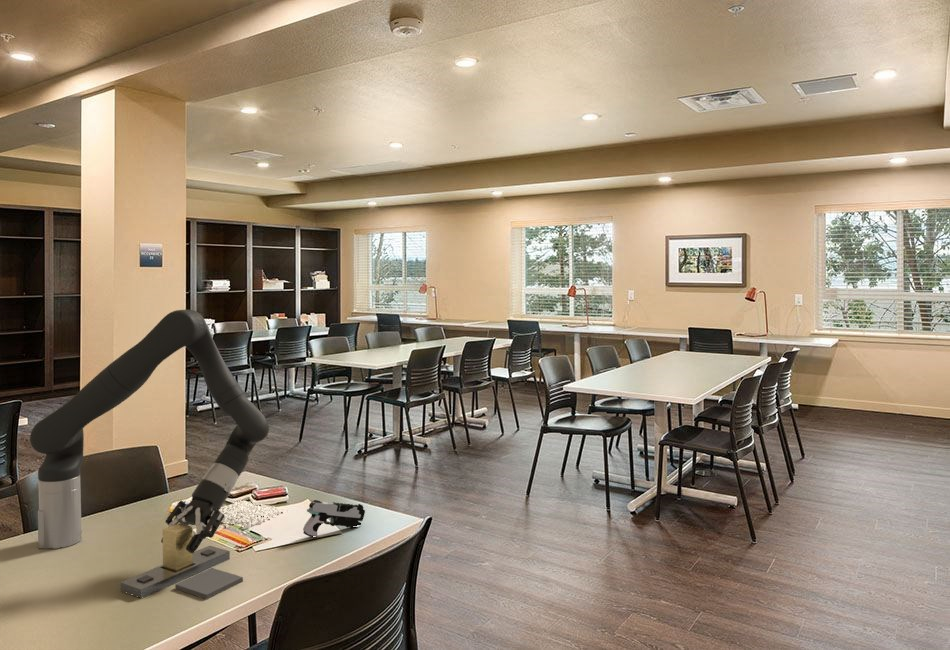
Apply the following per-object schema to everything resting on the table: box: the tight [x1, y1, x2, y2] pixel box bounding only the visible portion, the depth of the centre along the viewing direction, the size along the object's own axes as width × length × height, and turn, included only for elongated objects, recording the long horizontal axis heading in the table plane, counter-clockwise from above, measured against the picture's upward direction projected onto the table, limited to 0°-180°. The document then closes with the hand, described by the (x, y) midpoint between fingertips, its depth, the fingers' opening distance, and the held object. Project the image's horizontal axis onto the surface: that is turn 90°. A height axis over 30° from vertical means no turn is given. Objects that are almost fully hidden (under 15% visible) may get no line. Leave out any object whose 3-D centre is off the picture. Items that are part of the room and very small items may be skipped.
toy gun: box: [302, 499, 366, 538], centre depth 185 cm, size 2×17×10 cm, turn 128°
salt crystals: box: [219, 500, 283, 530], centre depth 197 cm, size 20×20×2 cm
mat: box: [174, 567, 244, 600], centre depth 152 cm, size 10×10×1 cm
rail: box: [119, 545, 231, 599], centre depth 158 cm, size 24×7×2 cm, turn 152°
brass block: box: [162, 523, 193, 573], centre depth 157 cm, size 4×4×11 cm
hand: (176, 547), depth 157 cm, fingers open, 8 cm apart
